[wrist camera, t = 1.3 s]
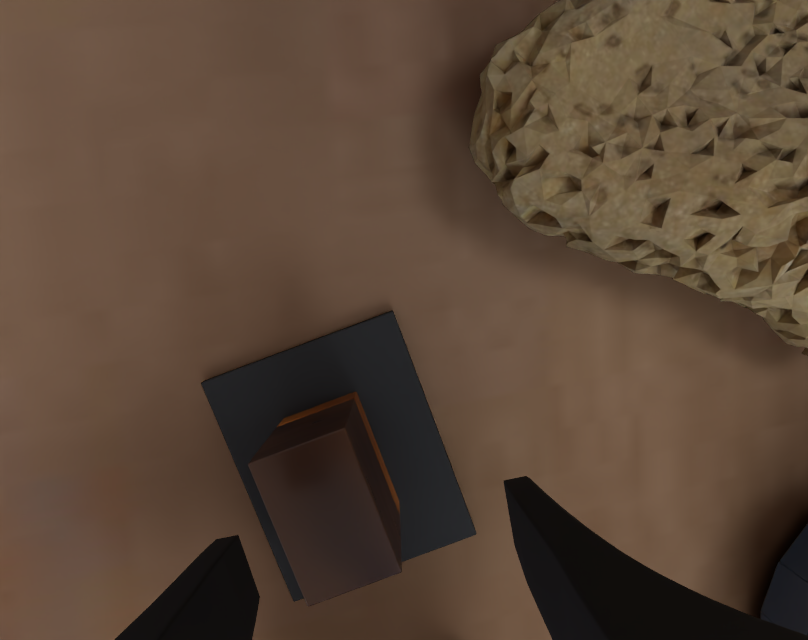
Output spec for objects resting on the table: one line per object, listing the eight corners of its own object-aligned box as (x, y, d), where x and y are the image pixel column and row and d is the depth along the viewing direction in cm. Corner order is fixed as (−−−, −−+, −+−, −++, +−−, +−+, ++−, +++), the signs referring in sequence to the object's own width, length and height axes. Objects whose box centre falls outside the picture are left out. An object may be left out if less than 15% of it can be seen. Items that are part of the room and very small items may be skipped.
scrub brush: (327, 528, 21) (307, 608, 16) (282, 418, 20) (246, 464, 15) (399, 502, 21) (402, 572, 16) (356, 390, 20) (344, 427, 15)
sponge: (913, 193, 22) (653, -173, 16) (1190, 217, 14) (892, -437, 9) (697, 388, 25) (416, 138, 19) (836, 490, 17) (447, 134, 12)
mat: (295, 596, 21) (293, 602, 21) (204, 380, 20) (200, 382, 20) (475, 529, 21) (476, 534, 21) (393, 310, 20) (392, 311, 20)
